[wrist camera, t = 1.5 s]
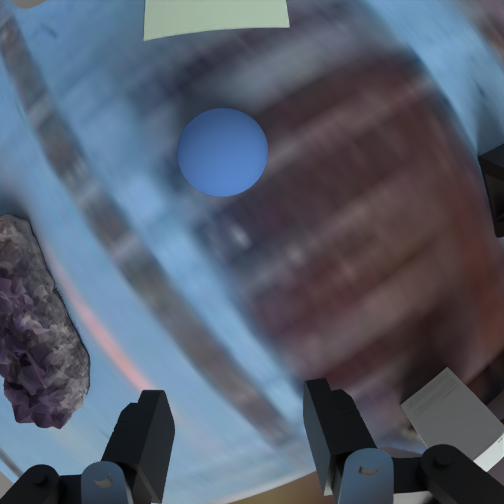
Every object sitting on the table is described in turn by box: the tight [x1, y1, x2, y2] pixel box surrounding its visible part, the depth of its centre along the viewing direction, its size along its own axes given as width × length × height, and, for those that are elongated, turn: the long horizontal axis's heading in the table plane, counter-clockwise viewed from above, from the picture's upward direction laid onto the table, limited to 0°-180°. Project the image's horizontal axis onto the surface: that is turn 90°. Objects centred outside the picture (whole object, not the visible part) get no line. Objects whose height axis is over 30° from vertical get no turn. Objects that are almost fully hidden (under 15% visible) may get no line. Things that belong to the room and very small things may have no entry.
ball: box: [177, 108, 268, 197], centre depth 20 cm, size 6×6×6 cm
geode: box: [0, 213, 90, 429], centre depth 21 cm, size 20×12×10 cm, turn 22°
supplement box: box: [401, 367, 504, 472], centre depth 24 cm, size 7×7×13 cm
